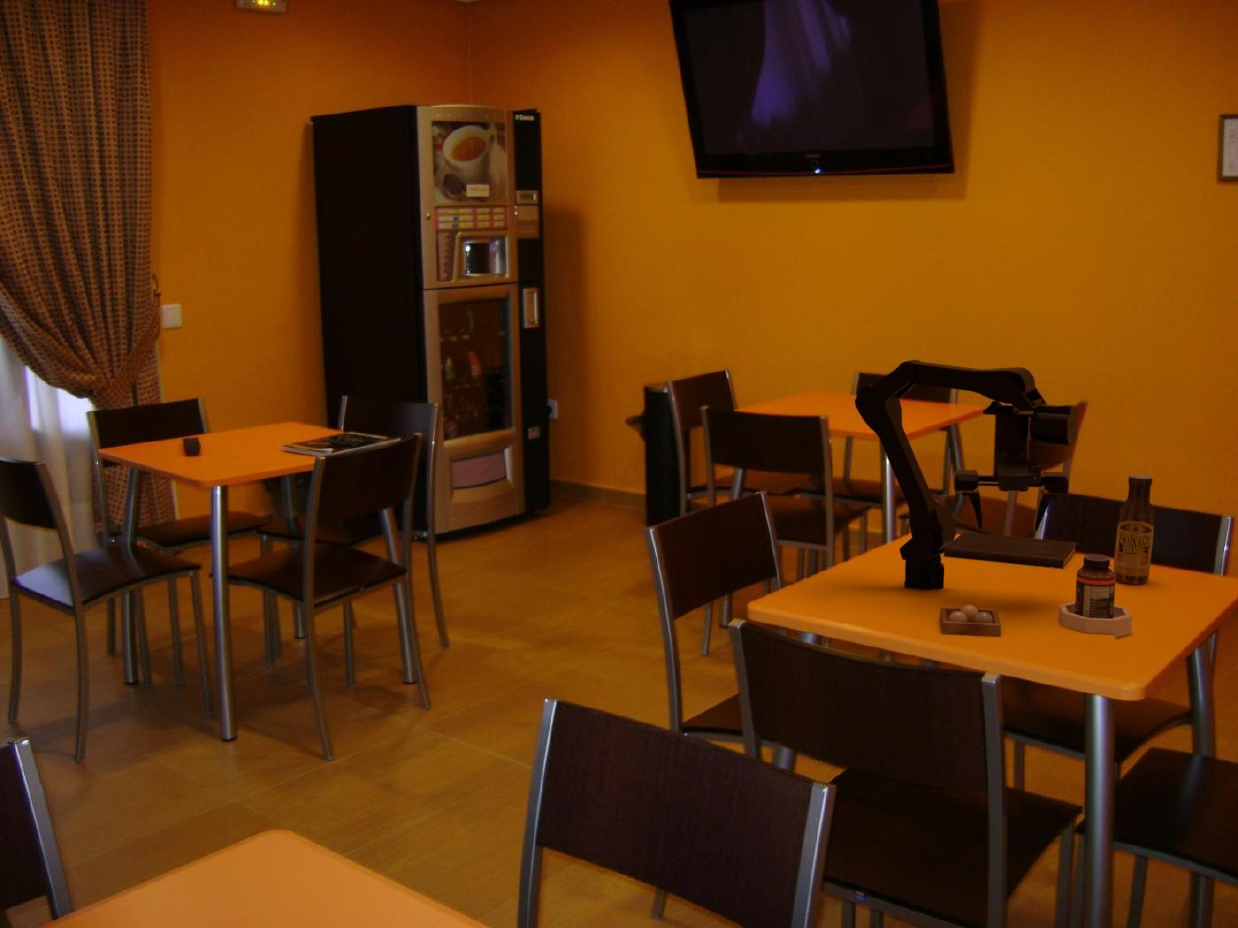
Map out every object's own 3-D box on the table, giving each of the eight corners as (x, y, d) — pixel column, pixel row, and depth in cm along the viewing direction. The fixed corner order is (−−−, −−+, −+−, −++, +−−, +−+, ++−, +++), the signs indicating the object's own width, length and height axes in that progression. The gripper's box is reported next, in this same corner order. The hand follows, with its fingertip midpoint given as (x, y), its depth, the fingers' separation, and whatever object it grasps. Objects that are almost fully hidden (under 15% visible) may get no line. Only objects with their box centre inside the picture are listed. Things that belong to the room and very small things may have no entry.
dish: (1064, 636, 204) (1065, 618, 204) (1056, 617, 214) (1057, 599, 214) (1134, 639, 202) (1135, 621, 202) (1123, 620, 212) (1124, 602, 212)
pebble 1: (948, 631, 205) (949, 613, 204) (947, 626, 208) (948, 608, 207) (967, 632, 204) (968, 614, 204) (966, 627, 207) (967, 609, 207)
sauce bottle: (1112, 584, 234) (1118, 477, 231) (1113, 575, 240) (1118, 472, 236) (1150, 587, 232) (1157, 480, 228) (1150, 578, 238) (1157, 473, 234)
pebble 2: (960, 624, 208) (960, 607, 208) (959, 619, 211) (959, 602, 211) (979, 625, 208) (979, 608, 207) (977, 620, 211) (978, 602, 210)
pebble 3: (974, 632, 204) (974, 614, 204) (973, 627, 207) (973, 609, 207) (993, 633, 204) (994, 615, 203) (992, 627, 206) (992, 610, 206)
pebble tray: (942, 638, 204) (942, 622, 204) (940, 621, 213) (940, 606, 212) (1000, 640, 202) (1001, 625, 202) (996, 624, 211) (996, 609, 211)
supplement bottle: (1073, 617, 212) (1076, 551, 210) (1111, 620, 210) (1115, 553, 208) (1074, 627, 207) (1078, 560, 205) (1113, 630, 205) (1117, 562, 203)
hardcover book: (963, 542, 270) (963, 531, 270) (1076, 553, 259) (1077, 542, 259) (943, 559, 256) (944, 548, 256) (1063, 571, 245) (1063, 560, 245)
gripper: (957, 448, 213) (954, 539, 215) (1075, 450, 209) (1070, 542, 212) (954, 437, 223) (951, 524, 226) (1066, 439, 220) (1062, 527, 222)
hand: (1007, 530), depth 221 cm, fingers open, 9 cm apart
